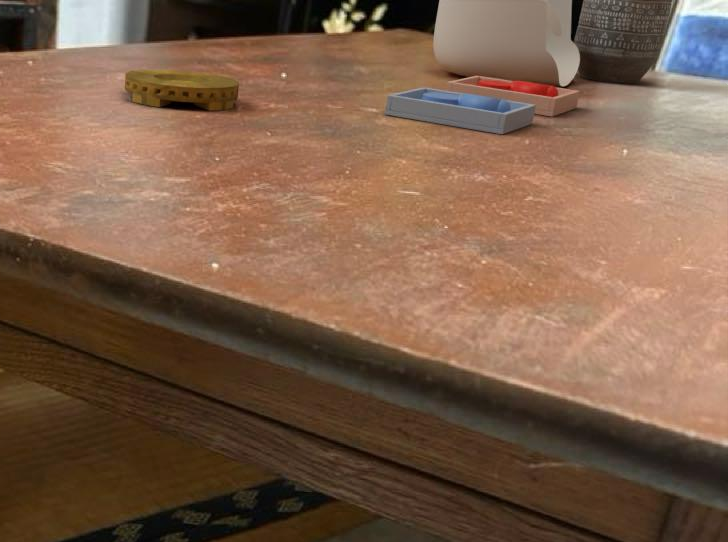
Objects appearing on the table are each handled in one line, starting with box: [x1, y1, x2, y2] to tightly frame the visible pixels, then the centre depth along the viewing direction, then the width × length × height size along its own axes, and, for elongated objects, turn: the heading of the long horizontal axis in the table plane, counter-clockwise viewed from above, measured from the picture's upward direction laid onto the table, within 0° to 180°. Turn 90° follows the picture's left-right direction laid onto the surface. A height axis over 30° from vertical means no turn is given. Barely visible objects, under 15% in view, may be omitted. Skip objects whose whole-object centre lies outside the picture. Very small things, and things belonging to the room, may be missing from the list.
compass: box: [124, 69, 240, 111], centre depth 117 cm, size 12×12×2 cm
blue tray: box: [384, 87, 536, 135], centre depth 120 cm, size 13×10×2 cm
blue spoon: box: [422, 93, 511, 113], centre depth 119 cm, size 10×4×2 cm, turn 58°
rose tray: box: [445, 76, 581, 117], centre depth 133 cm, size 13×10×2 cm
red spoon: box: [478, 80, 559, 98], centre depth 133 cm, size 10×4×2 cm, turn 58°
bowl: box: [432, 0, 580, 87], centre depth 153 cm, size 20×19×12 cm
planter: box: [573, 0, 674, 85], centre depth 162 cm, size 12×12×13 cm
